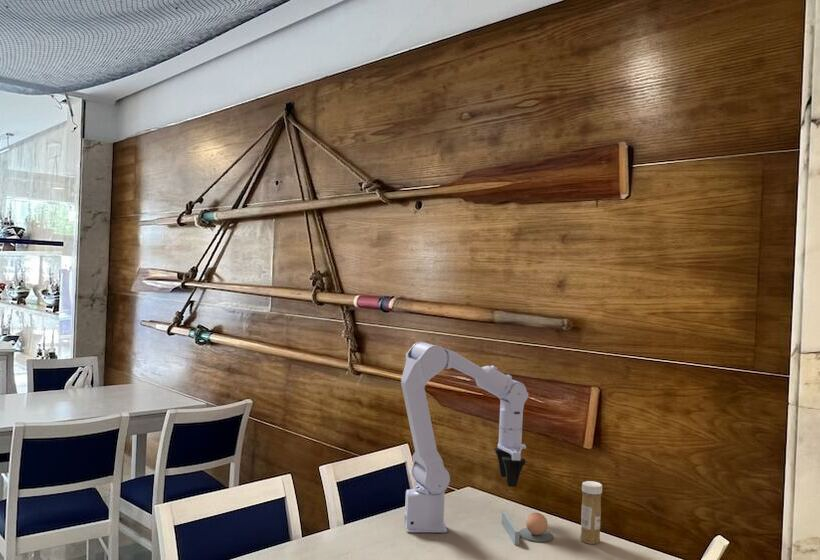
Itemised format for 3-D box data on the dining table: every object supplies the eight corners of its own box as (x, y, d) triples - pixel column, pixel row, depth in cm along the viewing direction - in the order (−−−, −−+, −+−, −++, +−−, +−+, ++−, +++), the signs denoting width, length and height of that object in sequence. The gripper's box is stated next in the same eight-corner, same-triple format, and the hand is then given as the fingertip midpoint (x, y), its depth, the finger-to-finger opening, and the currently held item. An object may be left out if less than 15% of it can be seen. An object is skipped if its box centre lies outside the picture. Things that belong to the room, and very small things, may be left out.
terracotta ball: (528, 538, 153) (530, 517, 153) (522, 529, 158) (524, 508, 158) (549, 539, 154) (551, 518, 154) (543, 529, 159) (544, 509, 159)
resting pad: (523, 542, 152) (523, 541, 152) (515, 528, 160) (515, 527, 160) (557, 542, 153) (557, 541, 153) (547, 529, 161) (547, 527, 161)
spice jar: (603, 544, 152) (605, 486, 152) (584, 545, 152) (586, 486, 152) (595, 536, 157) (597, 480, 157) (576, 537, 156) (579, 480, 156)
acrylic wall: (514, 544, 150) (515, 531, 150) (501, 523, 163) (502, 511, 163) (519, 544, 150) (519, 531, 150) (505, 523, 163) (506, 511, 163)
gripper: (533, 434, 160) (531, 490, 160) (519, 421, 174) (517, 472, 174) (505, 434, 159) (502, 490, 159) (492, 420, 174) (490, 472, 174)
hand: (508, 481), depth 167 cm, fingers open, 7 cm apart
